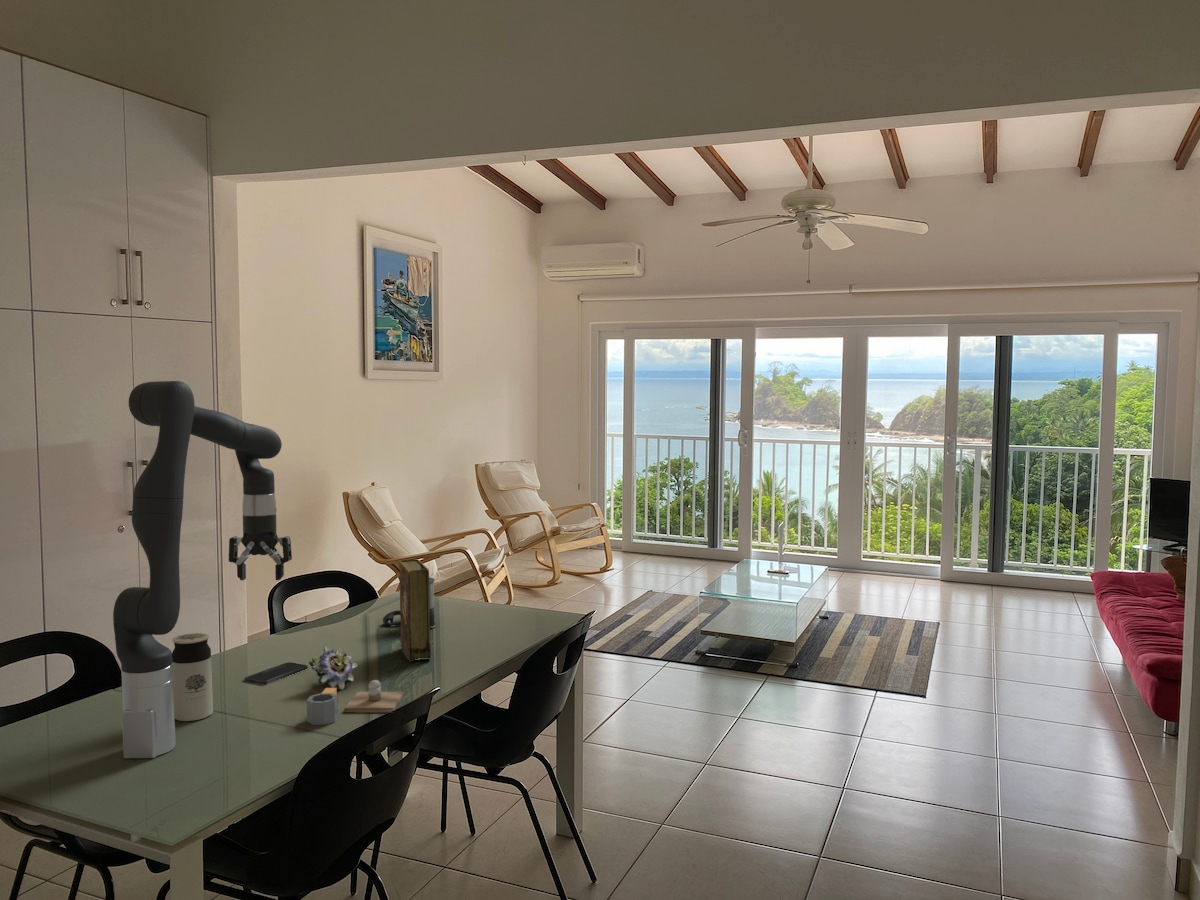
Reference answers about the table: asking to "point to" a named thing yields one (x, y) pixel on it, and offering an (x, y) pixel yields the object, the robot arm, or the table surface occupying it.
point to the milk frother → (389, 617)
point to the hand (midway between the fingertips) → (260, 579)
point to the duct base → (374, 706)
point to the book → (414, 609)
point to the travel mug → (192, 677)
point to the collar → (323, 707)
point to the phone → (275, 673)
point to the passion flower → (334, 668)
